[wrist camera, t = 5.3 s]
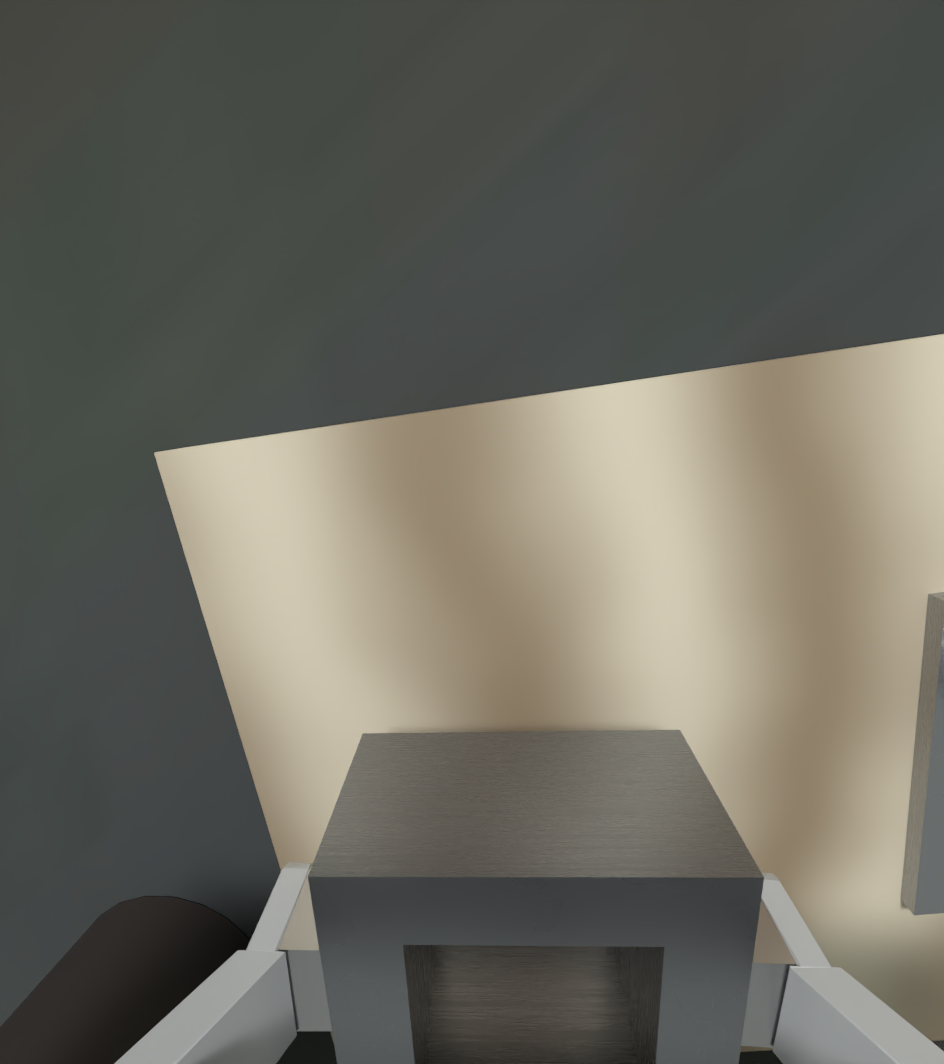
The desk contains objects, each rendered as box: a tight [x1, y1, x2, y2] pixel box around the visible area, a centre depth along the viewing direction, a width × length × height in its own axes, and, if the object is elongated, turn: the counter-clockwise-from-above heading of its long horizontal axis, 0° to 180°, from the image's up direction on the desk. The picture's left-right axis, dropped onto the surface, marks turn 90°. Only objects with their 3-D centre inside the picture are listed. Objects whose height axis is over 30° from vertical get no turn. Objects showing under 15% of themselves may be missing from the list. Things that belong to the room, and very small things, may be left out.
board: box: [154, 334, 944, 1052], centre depth 12 cm, size 24×18×1 cm
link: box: [308, 730, 764, 1064], centre depth 9 cm, size 6×6×3 cm
